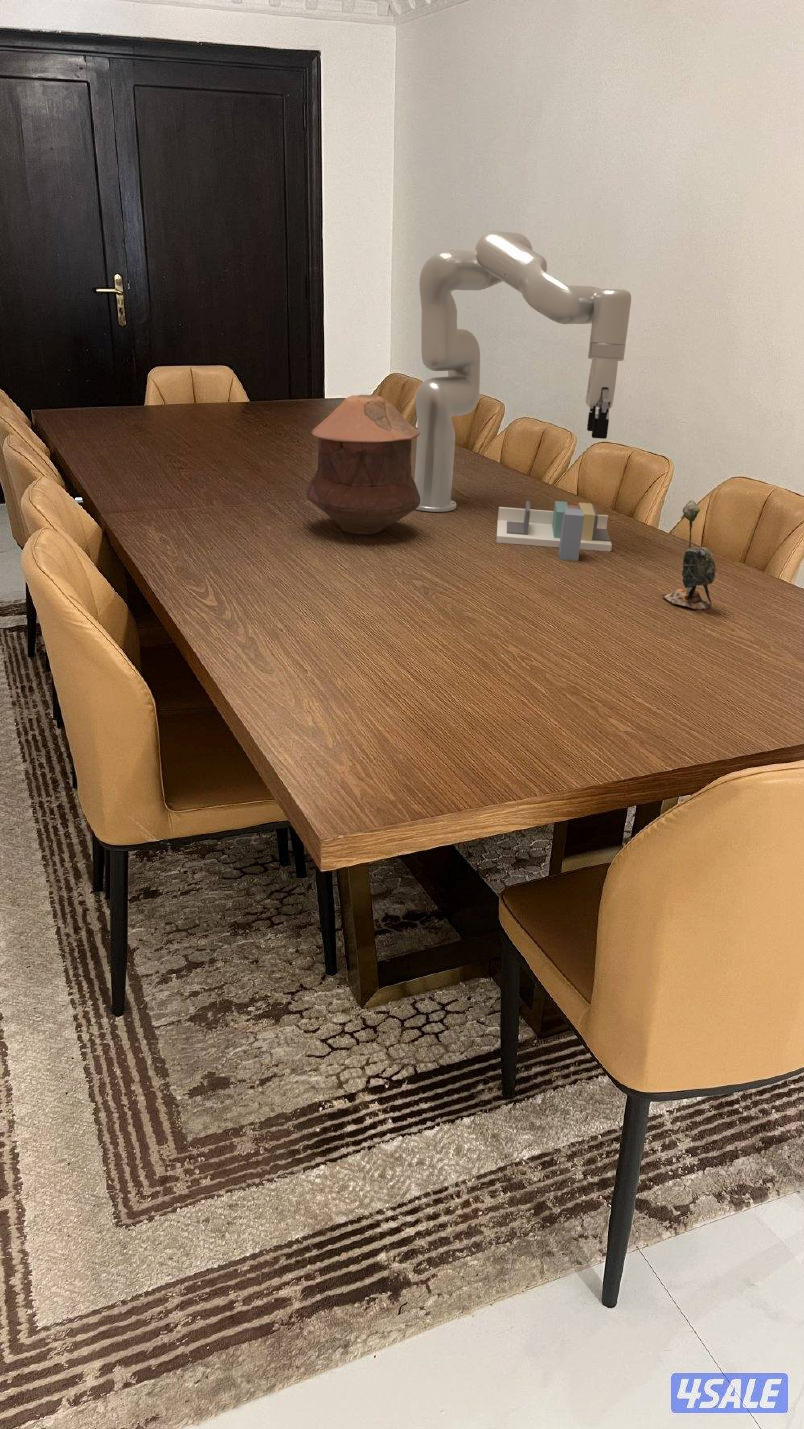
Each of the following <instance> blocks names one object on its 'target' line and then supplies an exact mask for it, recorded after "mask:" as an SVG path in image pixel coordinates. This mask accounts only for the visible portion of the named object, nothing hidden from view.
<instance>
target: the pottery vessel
mask: <svg viewBox="0 0 804 1429" xmlns="http://www.w3.org/2000/svg"><path fill="white" fill-rule="evenodd" d="M310 434H311V435H312V436H313V437H315V438H318V439H317V448H318V449H317V451H318V452H317V453H318V454H317V470H316V472H315V473H314V474H313V476H312V478H311V479H310V481H309V483H308V485H307V487H306V491H305V494H306V497H307V499H308V500H309V501H310V502H311V503H312V504H313V505H314V506H316V507H318V509H320V510H321V511H322V512H324V513H325V514H326V515H327V516H328V517H329V518H331V519H332V520H334V521H335V523H336V524H338V526H340V529H341V530H342V532H345V533H348V534H349V533H350V534H354V535H374V534H378V533H380V532H382V531H383V529H384V528H386V527H388V526H391V525H392V524H394V523H397V522H398V521H400V520H401V519H403V518H404V517H406V516H408V515H409V514H411V513H412V512H413V511H414V510H417V509H416V508H417V507H418V506H419V504H420V496H419V493H418V490H417V487H416V484H415V479H414V478H413V476H412V459H411V458H412V457H411V456H412V454H411V453H412V441H413V439H415V438H417V436H419V435H420V431H419V430H417V428H416V427H415V426H413V425H412V424H410V422H409V421H408V420H407V419H406V418H405V417H404V416H403V414H401V412H400V411H399V409H397V408H396V407H395V406H394V405H393V404H392V403H391V402H389V400H387V399H385V398H384V397H383V396H380V395H377V394H356V395H355V394H354V395H350V396H346V398H344V400H342V402H341V403H340V404H339V405H338V406H337V407H336V408H335V409H334V410H333V411H332V412H331V413H330V414H329V415H328V416H327V417H326V418H325V419H323V421H321V422H320V423H319V424H318V425H317V426H316V427H314V428H313V429H312V430H311V431H310Z"/></svg>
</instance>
